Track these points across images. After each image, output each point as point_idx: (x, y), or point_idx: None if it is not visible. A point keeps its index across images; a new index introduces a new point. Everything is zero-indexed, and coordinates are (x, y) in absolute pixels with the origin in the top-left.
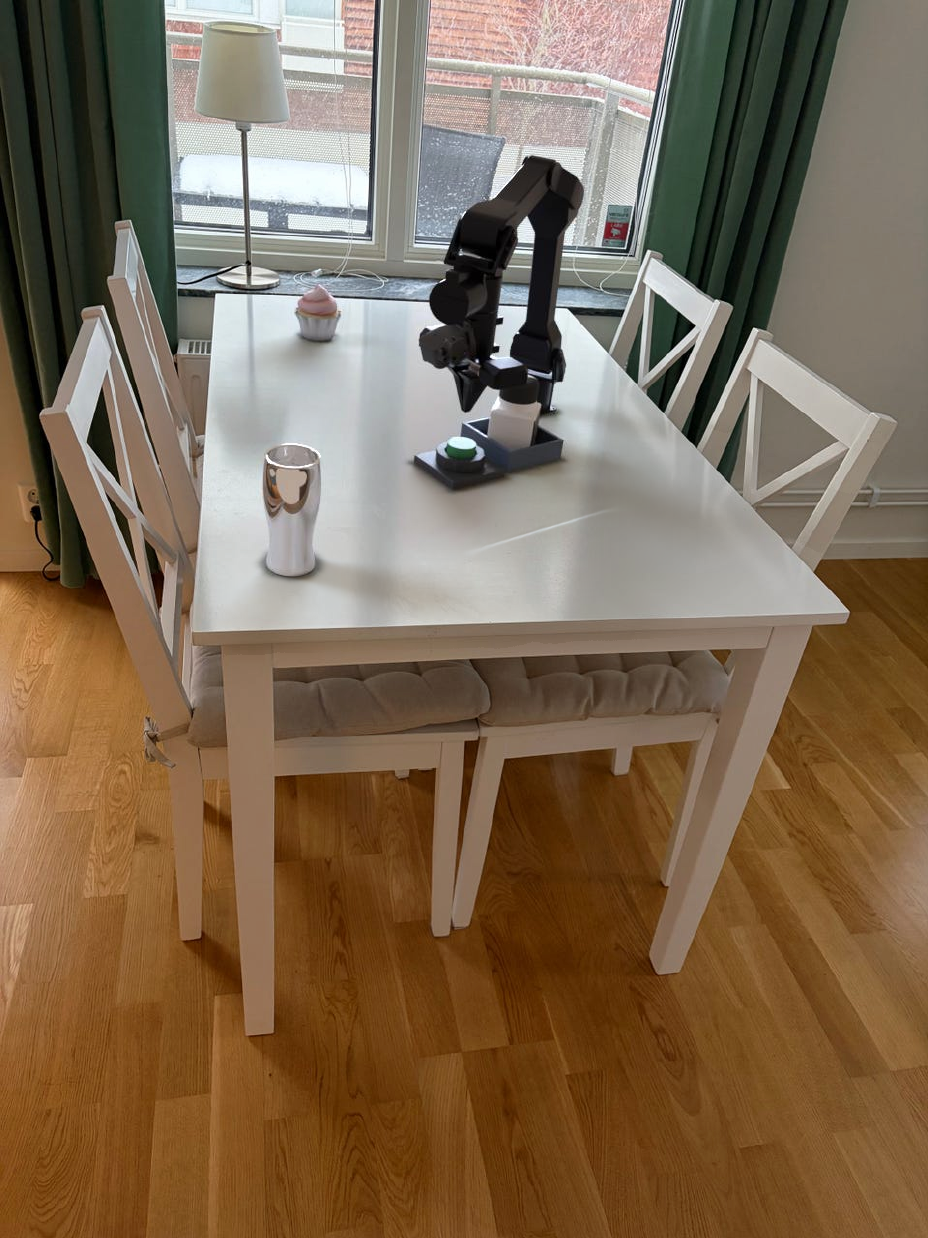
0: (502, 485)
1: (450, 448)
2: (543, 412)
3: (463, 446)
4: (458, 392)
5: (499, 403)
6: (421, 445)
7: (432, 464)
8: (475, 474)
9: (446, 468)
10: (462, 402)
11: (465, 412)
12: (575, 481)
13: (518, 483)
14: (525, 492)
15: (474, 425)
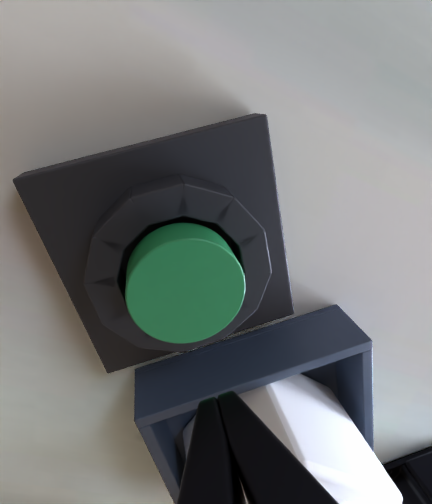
0: (57, 338)
1: (167, 237)
2: None
3: (152, 291)
4: (303, 495)
5: (345, 500)
6: (357, 191)
7: (174, 153)
8: (74, 279)
9: (124, 192)
10: (232, 445)
11: (200, 404)
12: (69, 494)
13: (67, 380)
14: (7, 384)
15: (355, 366)
